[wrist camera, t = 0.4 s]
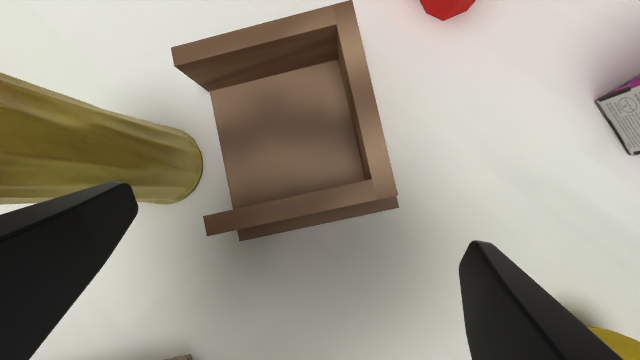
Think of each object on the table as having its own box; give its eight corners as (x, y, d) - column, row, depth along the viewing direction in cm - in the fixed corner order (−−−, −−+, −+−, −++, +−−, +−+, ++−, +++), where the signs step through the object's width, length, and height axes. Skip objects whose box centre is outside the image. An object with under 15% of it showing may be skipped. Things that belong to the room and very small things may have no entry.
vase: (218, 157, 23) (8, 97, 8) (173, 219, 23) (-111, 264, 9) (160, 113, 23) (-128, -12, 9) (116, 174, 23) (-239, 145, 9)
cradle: (396, 206, 21) (414, 211, 16) (242, 239, 22) (210, 254, 17) (355, 29, 22) (359, -21, 17) (207, 67, 23) (167, 31, 18)
